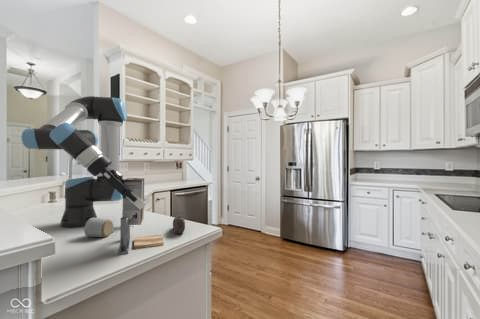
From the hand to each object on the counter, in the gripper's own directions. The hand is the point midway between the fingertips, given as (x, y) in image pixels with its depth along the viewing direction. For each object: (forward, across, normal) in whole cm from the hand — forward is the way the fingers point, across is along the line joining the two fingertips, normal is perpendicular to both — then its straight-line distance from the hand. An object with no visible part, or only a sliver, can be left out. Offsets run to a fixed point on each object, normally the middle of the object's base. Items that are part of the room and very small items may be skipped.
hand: (143, 204), depth 87 cm
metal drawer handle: (+7, -1, -15) cm, 16 cm away
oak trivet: (+12, -1, -9) cm, 15 cm away
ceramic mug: (0, -18, -22) cm, 29 cm away
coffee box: (+3, 0, -7) cm, 7 cm away
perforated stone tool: (+21, -13, 0) cm, 25 cm away
